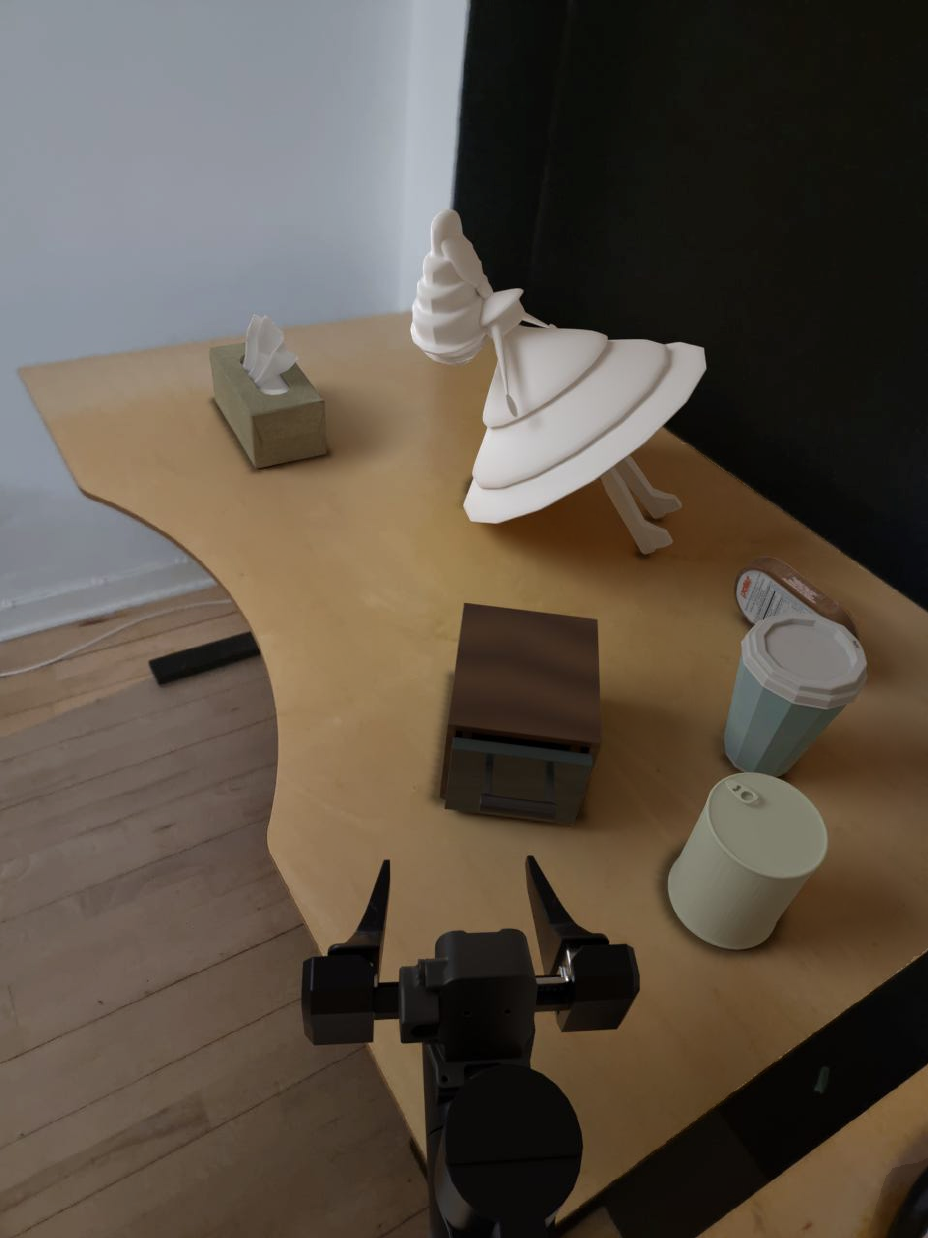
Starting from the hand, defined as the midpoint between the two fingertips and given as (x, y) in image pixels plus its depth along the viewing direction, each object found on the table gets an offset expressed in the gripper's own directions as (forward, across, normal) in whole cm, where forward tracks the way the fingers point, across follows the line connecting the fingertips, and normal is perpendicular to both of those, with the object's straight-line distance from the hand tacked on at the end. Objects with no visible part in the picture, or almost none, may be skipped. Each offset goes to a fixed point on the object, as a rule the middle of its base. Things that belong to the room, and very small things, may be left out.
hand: (458, 860), depth 54 cm
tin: (+35, -40, +15) cm, 55 cm away
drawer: (+17, -7, +14) cm, 23 cm away
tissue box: (+76, +19, +15) cm, 80 cm away
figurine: (+60, -16, +15) cm, 64 cm away
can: (+5, -24, +16) cm, 29 cm away
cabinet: (+21, -8, +15) cm, 27 cm away
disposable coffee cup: (+20, -32, +16) cm, 41 cm away
